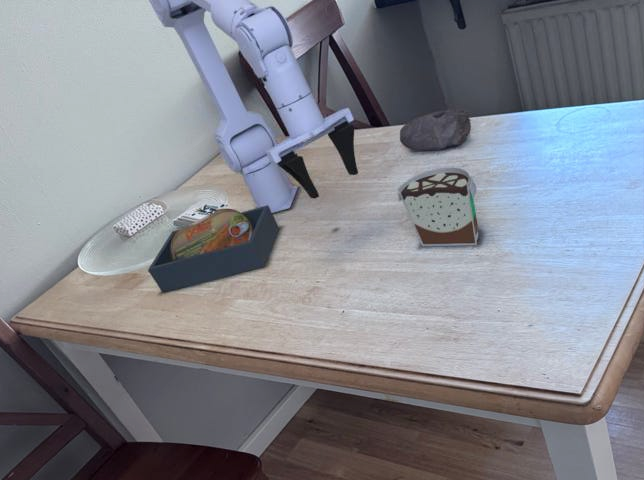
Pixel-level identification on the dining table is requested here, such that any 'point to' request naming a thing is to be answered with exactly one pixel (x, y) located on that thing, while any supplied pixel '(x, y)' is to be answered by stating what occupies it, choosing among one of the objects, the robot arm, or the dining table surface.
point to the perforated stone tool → (436, 130)
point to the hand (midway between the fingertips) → (334, 185)
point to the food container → (442, 207)
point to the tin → (211, 234)
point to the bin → (217, 256)
